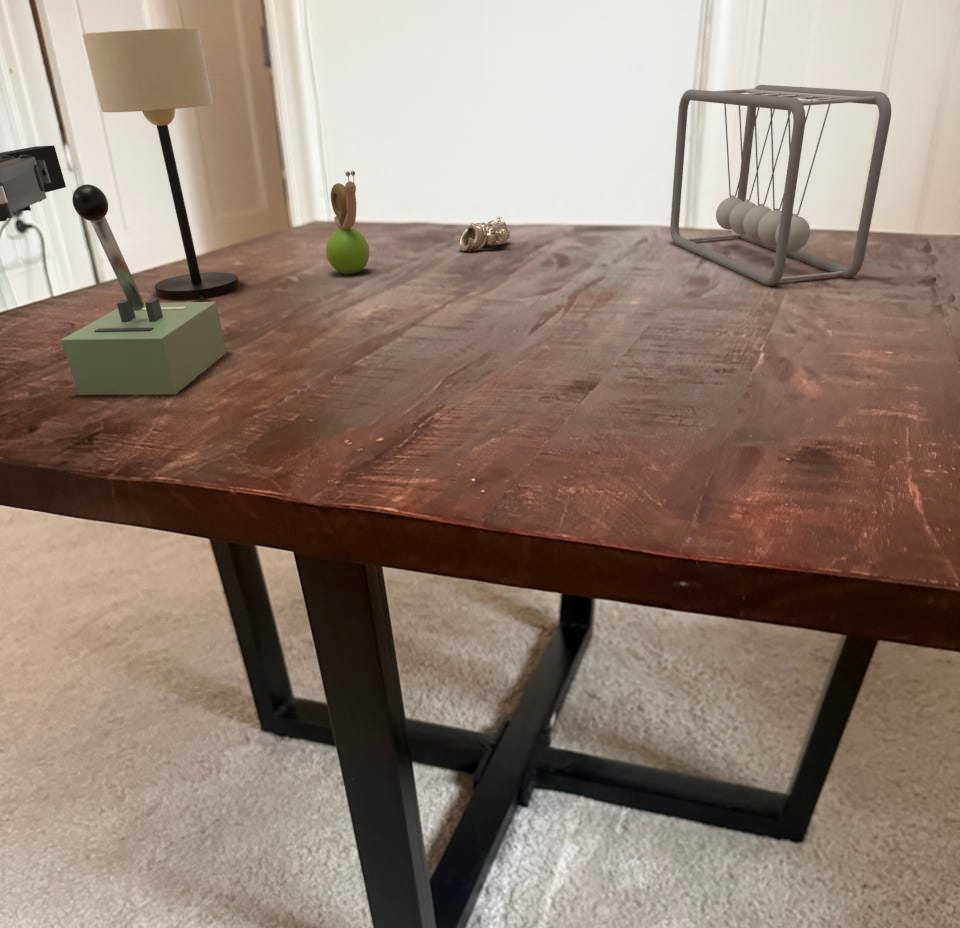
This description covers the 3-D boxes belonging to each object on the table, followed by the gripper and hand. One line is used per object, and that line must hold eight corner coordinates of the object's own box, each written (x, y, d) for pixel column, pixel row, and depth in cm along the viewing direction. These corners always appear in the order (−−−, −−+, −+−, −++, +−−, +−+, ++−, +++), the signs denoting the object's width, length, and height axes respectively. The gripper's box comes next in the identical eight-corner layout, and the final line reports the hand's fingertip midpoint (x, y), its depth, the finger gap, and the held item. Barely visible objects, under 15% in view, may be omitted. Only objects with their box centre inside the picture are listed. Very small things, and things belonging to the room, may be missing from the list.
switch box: (176, 397, 74) (156, 318, 71) (78, 397, 76) (54, 319, 72) (227, 355, 84) (212, 283, 80) (140, 356, 85) (121, 285, 82)
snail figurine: (344, 282, 108) (330, 173, 101) (322, 274, 113) (307, 169, 106) (382, 275, 110) (371, 168, 104) (359, 267, 115) (347, 164, 108)
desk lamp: (143, 288, 111) (79, 35, 96) (237, 275, 114) (189, 30, 99) (164, 324, 95) (91, 29, 80) (272, 308, 99) (221, 23, 84)
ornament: (484, 256, 117) (483, 227, 115) (450, 251, 121) (448, 222, 119) (525, 246, 121) (525, 217, 119) (491, 241, 125) (490, 213, 123)
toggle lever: (148, 318, 76) (92, 194, 67) (120, 318, 76) (61, 195, 67) (157, 300, 77) (104, 177, 68) (130, 300, 77) (73, 178, 69)
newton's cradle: (861, 281, 96) (898, 92, 86) (773, 291, 94) (800, 98, 84) (739, 235, 120) (756, 83, 110) (667, 242, 119) (678, 89, 109)
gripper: (-267, 300, 47) (-12, 225, 67) (-50, 294, 46) (147, 219, 65) (-347, 142, 43) (-50, 112, 63) (-112, 130, 41) (119, 102, 61)
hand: (50, 167), depth 64 cm, fingers closed
